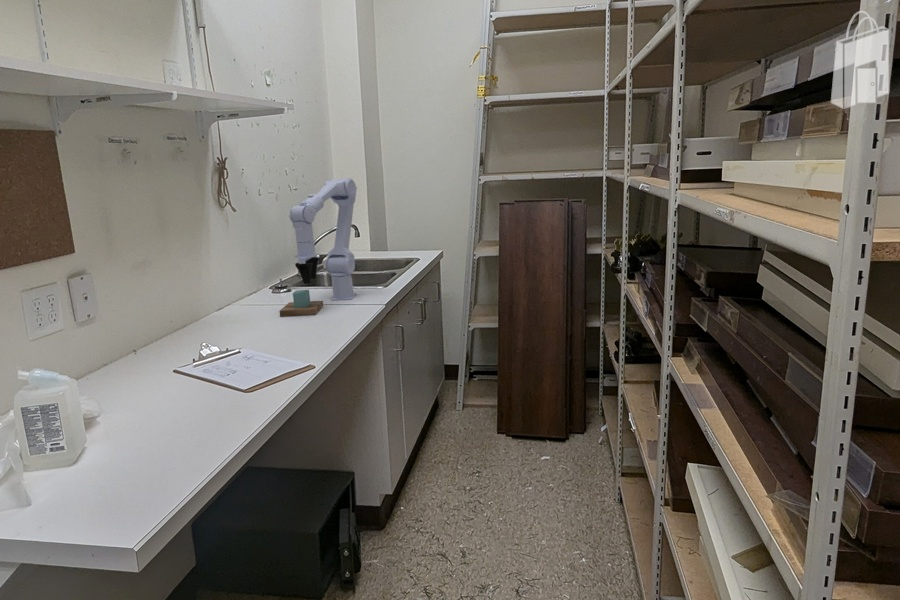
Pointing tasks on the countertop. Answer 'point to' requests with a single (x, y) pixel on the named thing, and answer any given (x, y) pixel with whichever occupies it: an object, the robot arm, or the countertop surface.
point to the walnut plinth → (301, 309)
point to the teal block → (301, 298)
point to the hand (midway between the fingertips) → (309, 280)
